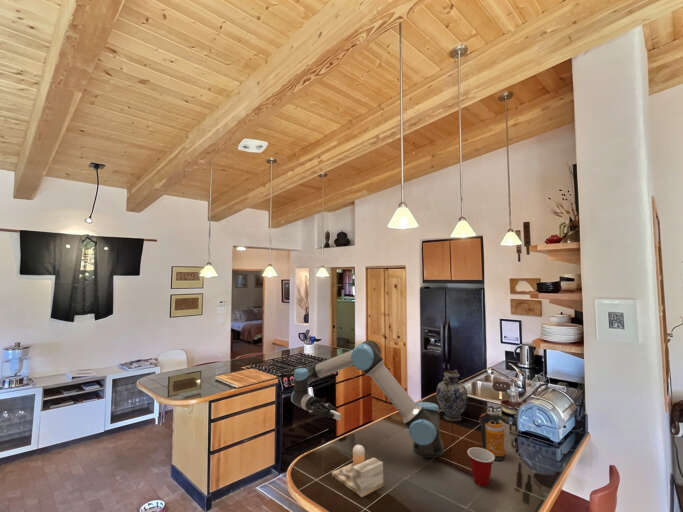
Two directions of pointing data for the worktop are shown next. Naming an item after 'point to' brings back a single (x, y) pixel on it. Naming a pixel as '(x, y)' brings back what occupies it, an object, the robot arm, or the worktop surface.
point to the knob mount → (361, 476)
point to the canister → (493, 435)
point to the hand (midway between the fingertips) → (339, 417)
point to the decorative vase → (451, 396)
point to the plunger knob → (358, 455)
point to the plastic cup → (481, 465)
